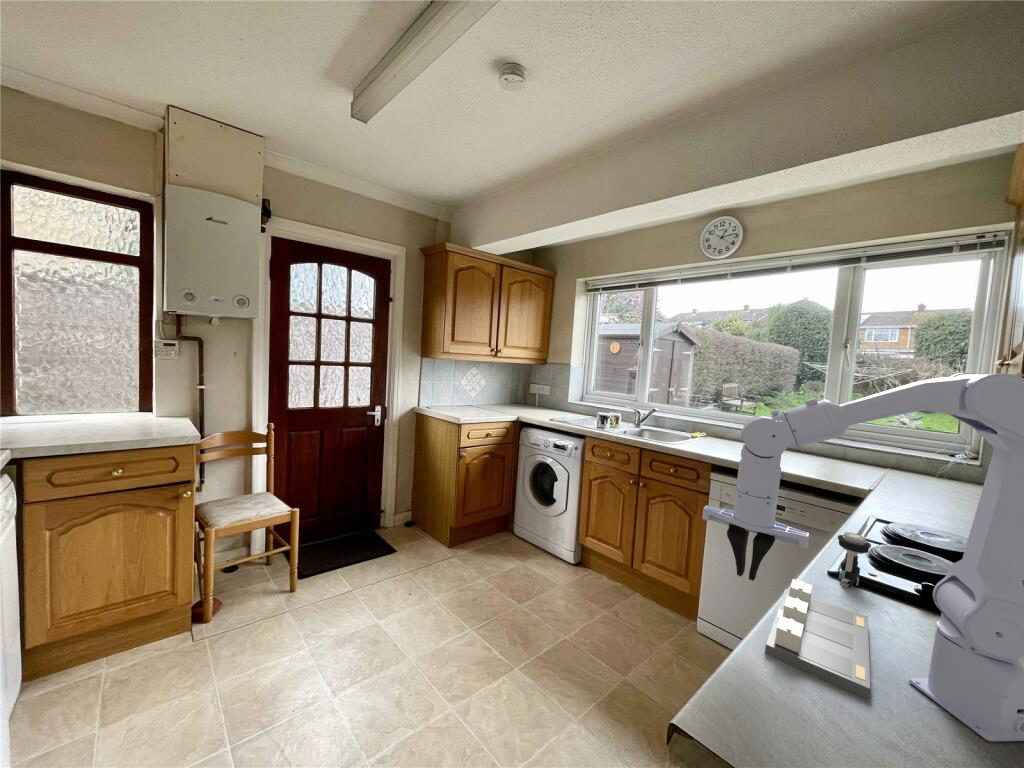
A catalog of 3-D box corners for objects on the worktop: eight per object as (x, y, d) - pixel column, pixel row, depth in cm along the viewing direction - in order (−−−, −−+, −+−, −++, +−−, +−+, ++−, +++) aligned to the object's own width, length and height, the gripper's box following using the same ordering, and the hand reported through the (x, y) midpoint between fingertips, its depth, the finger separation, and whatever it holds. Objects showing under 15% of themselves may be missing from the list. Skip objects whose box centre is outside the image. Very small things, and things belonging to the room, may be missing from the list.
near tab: (798, 653, 62) (801, 635, 62) (774, 643, 64) (777, 625, 63) (801, 640, 65) (803, 622, 65) (778, 631, 67) (780, 614, 67)
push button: (859, 594, 83) (866, 545, 83) (827, 582, 87) (833, 535, 87) (867, 584, 88) (874, 538, 87) (836, 573, 92) (842, 528, 91)
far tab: (808, 607, 74) (810, 592, 74) (788, 600, 76) (790, 585, 76) (810, 598, 77) (812, 583, 77) (791, 591, 79) (793, 577, 79)
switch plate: (868, 699, 56) (870, 688, 56) (764, 653, 64) (765, 643, 64) (866, 625, 73) (867, 616, 73) (784, 595, 81) (785, 587, 81)
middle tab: (804, 628, 68) (806, 611, 68) (782, 619, 70) (784, 603, 70) (806, 617, 71) (808, 601, 71) (785, 609, 73) (787, 594, 73)
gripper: (814, 499, 65) (803, 584, 66) (713, 476, 74) (705, 551, 75) (810, 510, 60) (798, 603, 61) (702, 484, 69) (693, 565, 70)
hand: (746, 575), depth 68 cm, fingers closed
